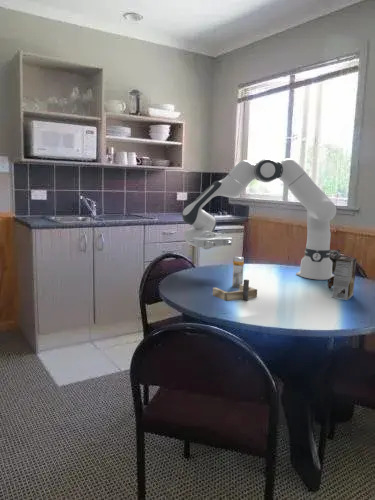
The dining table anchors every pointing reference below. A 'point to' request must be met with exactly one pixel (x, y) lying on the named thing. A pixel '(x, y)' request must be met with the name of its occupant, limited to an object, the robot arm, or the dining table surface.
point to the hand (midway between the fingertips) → (222, 244)
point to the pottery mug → (330, 282)
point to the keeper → (236, 293)
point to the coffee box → (344, 277)
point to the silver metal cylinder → (237, 271)
